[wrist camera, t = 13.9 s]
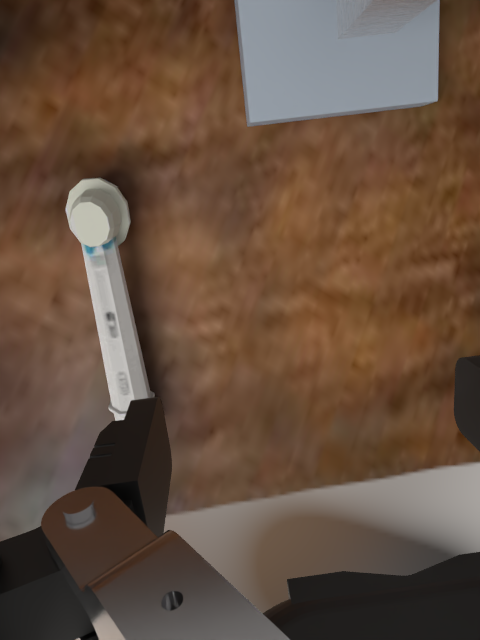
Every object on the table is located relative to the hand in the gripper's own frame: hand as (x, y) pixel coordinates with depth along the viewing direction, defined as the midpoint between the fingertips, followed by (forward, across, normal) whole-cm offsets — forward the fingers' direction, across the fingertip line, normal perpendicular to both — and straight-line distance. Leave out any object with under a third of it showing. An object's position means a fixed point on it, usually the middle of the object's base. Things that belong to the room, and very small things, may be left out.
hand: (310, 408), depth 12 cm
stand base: (+33, -10, -16) cm, 38 cm away
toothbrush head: (+34, +12, +5) cm, 36 cm away
